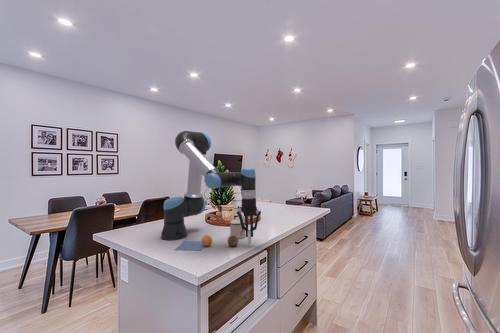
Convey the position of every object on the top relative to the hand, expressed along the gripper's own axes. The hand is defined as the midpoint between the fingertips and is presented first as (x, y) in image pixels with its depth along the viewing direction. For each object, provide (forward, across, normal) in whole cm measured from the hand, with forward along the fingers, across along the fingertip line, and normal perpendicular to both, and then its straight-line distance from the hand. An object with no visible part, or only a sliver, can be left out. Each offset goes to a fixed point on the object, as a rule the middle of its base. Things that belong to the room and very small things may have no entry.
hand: (249, 243), depth 123 cm
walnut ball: (-1, -9, 0) cm, 9 cm away
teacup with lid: (+2, -9, +18) cm, 20 cm away
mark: (+2, -31, 0) cm, 31 cm away
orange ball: (-1, -23, 0) cm, 23 cm away
